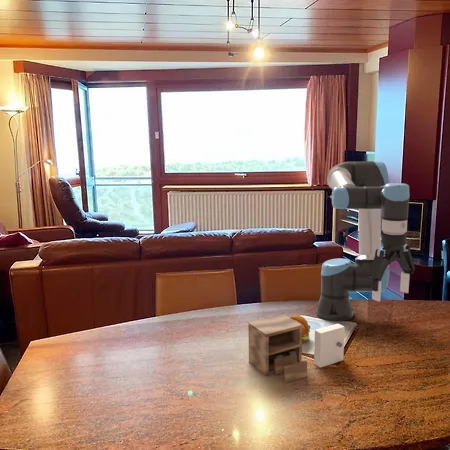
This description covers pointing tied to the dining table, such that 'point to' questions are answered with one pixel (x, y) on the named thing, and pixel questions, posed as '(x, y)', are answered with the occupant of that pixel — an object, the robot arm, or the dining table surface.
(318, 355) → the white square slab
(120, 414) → the dining table surface
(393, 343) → the dining table surface
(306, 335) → the cheeseburger
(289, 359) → the cabinet
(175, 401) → the dining table surface
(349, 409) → the dining table surface
